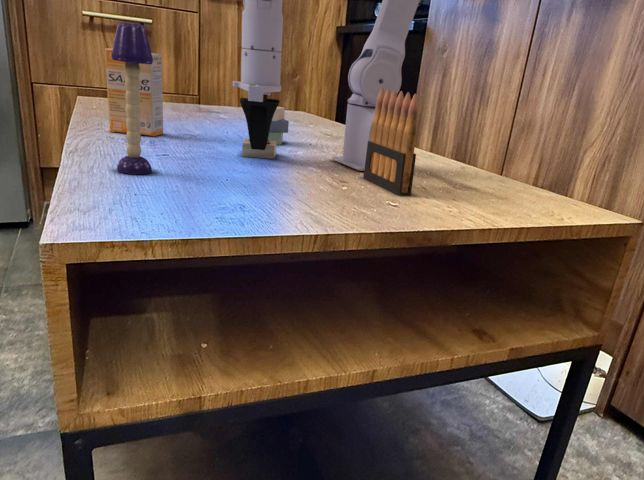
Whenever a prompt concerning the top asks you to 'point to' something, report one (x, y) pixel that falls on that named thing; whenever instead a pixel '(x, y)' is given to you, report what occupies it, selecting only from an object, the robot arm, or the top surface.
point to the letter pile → (278, 126)
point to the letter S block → (267, 153)
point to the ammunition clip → (393, 142)
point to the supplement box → (148, 93)
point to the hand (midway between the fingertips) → (258, 149)
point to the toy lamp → (132, 90)
